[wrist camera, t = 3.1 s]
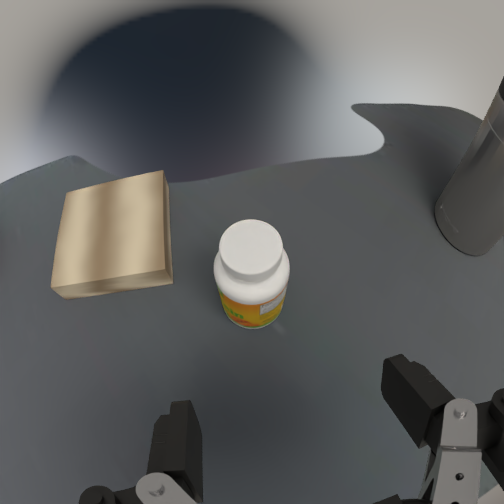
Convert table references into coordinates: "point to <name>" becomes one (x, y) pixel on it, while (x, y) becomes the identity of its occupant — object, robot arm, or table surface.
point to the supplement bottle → (251, 273)
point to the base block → (114, 238)
